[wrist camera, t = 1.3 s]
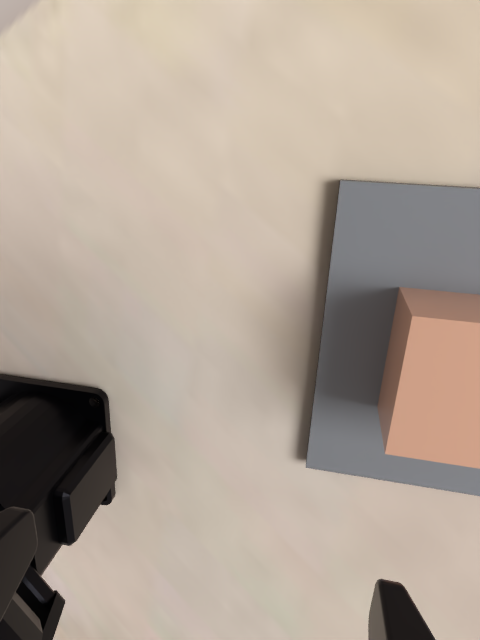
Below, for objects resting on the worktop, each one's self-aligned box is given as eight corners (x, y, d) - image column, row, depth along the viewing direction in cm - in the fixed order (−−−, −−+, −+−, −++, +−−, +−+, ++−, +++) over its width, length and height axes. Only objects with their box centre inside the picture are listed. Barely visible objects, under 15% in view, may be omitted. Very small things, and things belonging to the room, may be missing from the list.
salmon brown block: (377, 407, 18) (384, 454, 15) (399, 287, 16) (412, 315, 13) (512, 425, 17) (546, 479, 14) (552, 301, 15) (599, 335, 13)
